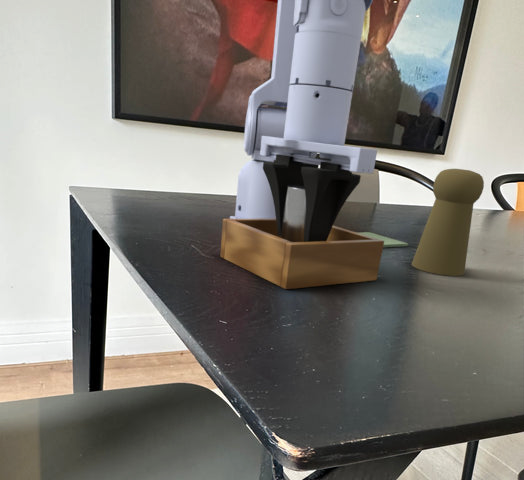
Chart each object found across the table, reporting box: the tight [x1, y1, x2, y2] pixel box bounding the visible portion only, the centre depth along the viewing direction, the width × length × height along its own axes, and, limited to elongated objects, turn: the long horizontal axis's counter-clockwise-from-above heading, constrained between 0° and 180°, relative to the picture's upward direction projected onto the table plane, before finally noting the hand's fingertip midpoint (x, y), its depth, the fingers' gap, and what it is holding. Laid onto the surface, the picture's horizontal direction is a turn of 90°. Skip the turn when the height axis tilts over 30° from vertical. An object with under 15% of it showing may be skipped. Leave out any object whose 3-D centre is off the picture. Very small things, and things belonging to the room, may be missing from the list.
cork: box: [411, 168, 485, 277], centre depth 56 cm, size 6×6×11 cm
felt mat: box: [358, 231, 409, 249], centre depth 70 cm, size 8×8×1 cm
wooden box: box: [219, 218, 384, 290], centre depth 50 cm, size 12×12×4 cm
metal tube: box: [281, 185, 306, 243], centre depth 50 cm, size 4×4×8 cm
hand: (300, 240), depth 50 cm, fingers closed on metal tube, 4 cm apart
